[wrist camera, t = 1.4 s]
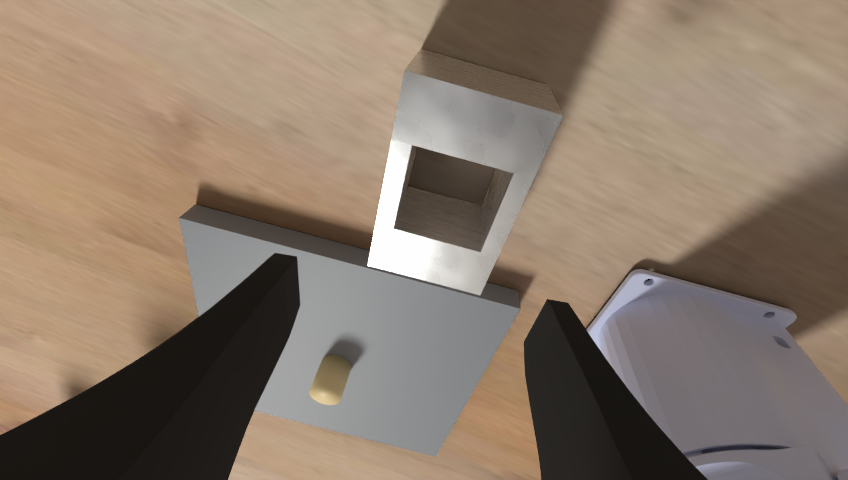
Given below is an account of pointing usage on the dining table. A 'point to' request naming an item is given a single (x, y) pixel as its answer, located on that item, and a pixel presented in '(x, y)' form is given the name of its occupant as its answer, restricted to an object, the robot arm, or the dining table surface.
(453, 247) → the block with square hole
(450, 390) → the pin board
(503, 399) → the dining table surface
